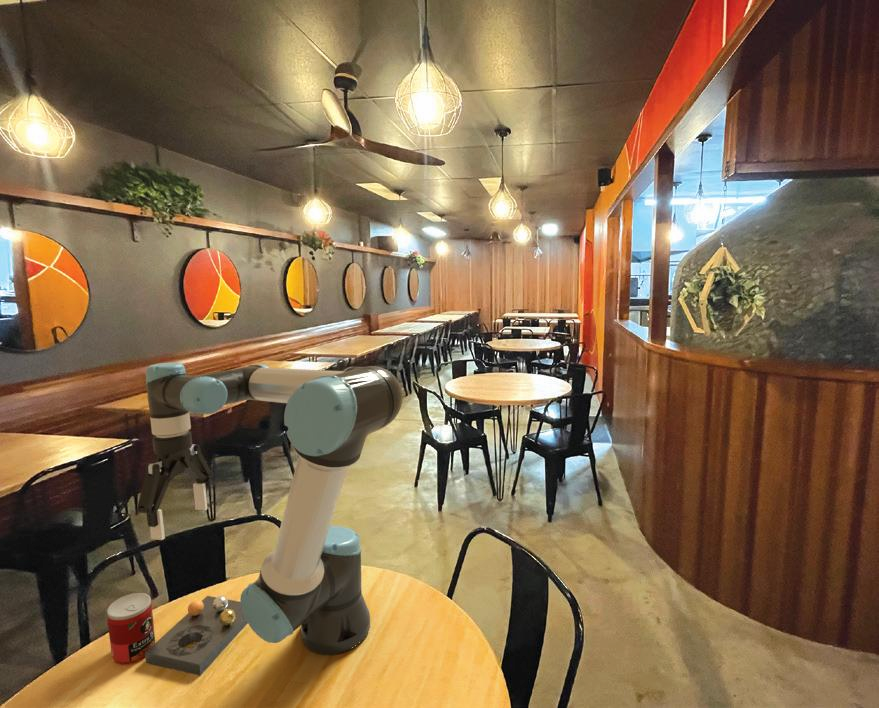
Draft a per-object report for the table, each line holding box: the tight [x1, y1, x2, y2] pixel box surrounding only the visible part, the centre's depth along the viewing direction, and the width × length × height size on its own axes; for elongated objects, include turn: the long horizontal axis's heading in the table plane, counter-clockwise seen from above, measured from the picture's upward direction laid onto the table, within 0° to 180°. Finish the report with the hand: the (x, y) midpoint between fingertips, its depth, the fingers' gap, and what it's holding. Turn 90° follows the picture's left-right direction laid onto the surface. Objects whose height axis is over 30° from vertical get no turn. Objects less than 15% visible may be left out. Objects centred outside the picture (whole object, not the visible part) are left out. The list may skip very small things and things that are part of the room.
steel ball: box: [213, 595, 229, 612], centre depth 108 cm, size 3×3×3 cm
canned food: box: [106, 592, 156, 666], centre depth 99 cm, size 8×8×11 cm
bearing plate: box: [144, 595, 248, 676], centre depth 103 cm, size 13×18×2 cm
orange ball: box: [187, 599, 204, 616], centre depth 107 cm, size 3×3×3 cm
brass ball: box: [219, 609, 235, 626], centre depth 104 cm, size 3×3×3 cm
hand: (181, 523), depth 107 cm, fingers open, 13 cm apart
